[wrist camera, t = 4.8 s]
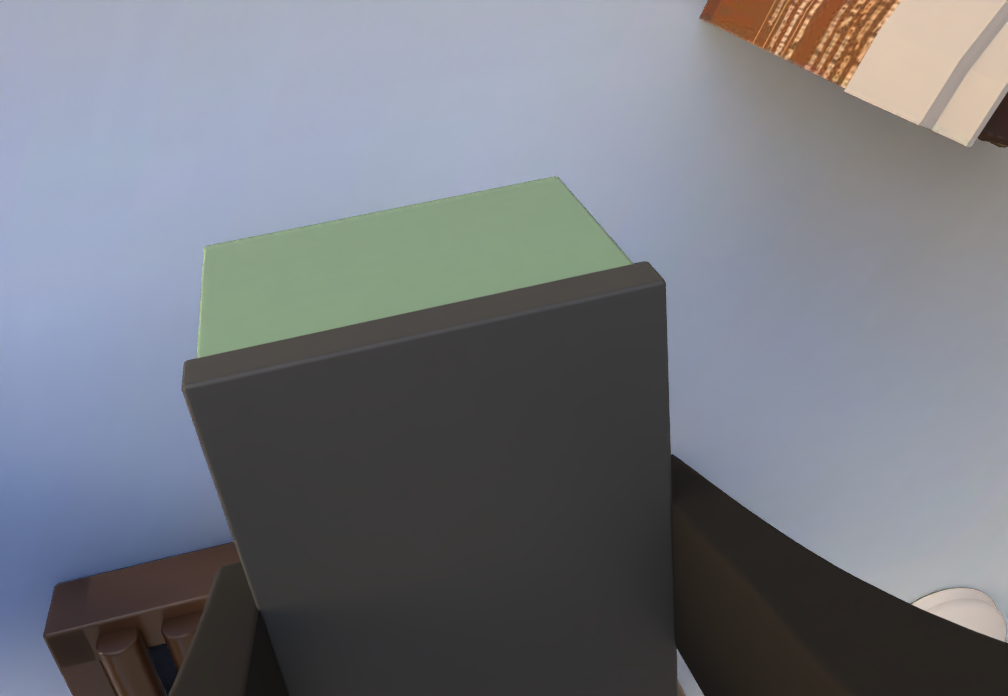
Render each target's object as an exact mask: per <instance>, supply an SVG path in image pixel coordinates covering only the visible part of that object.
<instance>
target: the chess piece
mask: <svg viewBox="0 0 1008 696" xmlns="http://www.w3.org/2000/svg"><path fill="white" fill-rule="evenodd" d="M911 605H914V606H916V607H918V608H920V609H922V610H925V611H927V612H929V613H932V614H934V615H937V616H939V617H942V618H944V619H946V620H949V621H951V622H954V623H956V624H958V625H961V626H963V627H966V628H968V629H971V630H973V631H976V632H979V633H981V634H984V635H987V636H989V637H992V638H995V639H998V640H1000V641H1003V642H1005V638H1006V623H1005V620H1004V618H1003V616H1002V614H1001V613H1000V611H999V610H998V609H997V608H996V607H995V604H994V603H993V601H992V600H991V599H990V597H988V596H987V595H986V594H984V593H983V592H981V591H978V590H975V589H970V588H953V589H947V590H942V591H939V592H936V593H933V594H930V595H928V596H925V597H923V598H921V599H919V600H917V601H916V602H914V603H912V604H911Z"/></svg>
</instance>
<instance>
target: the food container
mask: <svg viewBox="0 0 1008 696" xmlns="http://www.w3.org/2000/svg"><path fill="white" fill-rule="evenodd" d="M699 18H700V19H702V20H704V21H706V22H708V23H710V24H712V25H714V26H716V27H718V28H721V29H723V30H725V31H727V32H729V33H731V34H733V35H735V36H737V37H739V38H741V39H743V40H745V41H748V42H750V43H752V44H754V45H756V46H758V47H760V48H762V49H764V50H766V51H768V52H770V53H772V54H775V55H777V56H779V57H781V58H783V59H785V60H787V61H789V62H791V63H793V64H795V65H797V66H799V67H802V68H804V69H806V70H808V71H810V72H812V73H814V74H816V75H818V76H820V77H822V78H824V79H826V80H829V81H831V82H833V83H835V84H837V85H839V86H841V87H843V88H845V90H844V92H846V93H848V94H851V95H853V96H855V97H857V98H860V99H862V100H864V101H866V102H868V103H871V104H873V105H875V106H877V107H879V108H882V109H884V110H886V111H888V112H890V113H893V114H895V115H897V116H899V117H901V118H904V119H906V120H908V121H910V122H912V123H915V124H917V125H919V126H922V127H924V128H927V129H930V130H932V131H934V132H937V133H939V134H941V135H943V136H945V137H947V138H949V139H952V140H954V141H956V142H958V143H960V144H962V145H965V146H967V147H970V148H971V147H972V145H973V144H974V142H975V141H976V139H977V138H978V139H980V140H982V141H988V142H990V143H992V144H994V145H996V146H998V147H1004V148H1006V147H1008V0H708V1H707V3H706V5H705V7H704V9H703V11H702V13H701V15H700V17H699Z"/></svg>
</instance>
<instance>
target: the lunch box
mask: <svg viewBox="0 0 1008 696" xmlns="http://www.w3.org/2000/svg"><path fill="white" fill-rule="evenodd" d="M182 392H183V395H184V398H185V401H186V403H187V406H188V409H189V412H190V415H191V418H192V421H193V424H194V427H195V430H196V432H197V435H198V438H199V441H200V444H201V447H202V450H203V453H204V456H205V459H206V462H207V464H208V467H209V470H210V473H211V476H212V479H213V482H214V485H215V488H216V491H217V493H218V496H219V499H220V502H221V505H222V508H223V511H224V514H225V517H226V520H227V523H228V525H229V528H230V531H231V534H232V537H233V540H234V543H235V546H236V549H237V552H238V554H239V557H240V560H241V563H242V566H243V569H244V572H245V575H246V578H247V581H248V584H249V586H250V589H251V592H252V595H253V598H254V601H255V604H256V607H257V609H258V610H259V611H260V614H261V617H262V620H263V623H264V626H265V629H266V632H267V635H268V638H269V641H270V644H271V646H272V649H273V652H274V655H275V658H276V661H277V664H278V667H279V670H280V673H281V676H282V678H283V681H284V684H285V687H286V690H287V693H288V696H678V686H677V652H676V639H675V606H674V572H673V539H672V505H671V504H672V483H671V449H670V416H669V382H668V348H667V314H666V282H665V280H664V279H663V278H662V277H661V276H660V275H659V273H658V272H657V271H656V270H655V269H654V268H653V267H652V266H651V265H650V263H649V262H640V263H635V264H633V263H632V261H631V260H630V259H629V258H628V257H627V256H626V254H625V253H624V252H623V251H622V250H621V249H620V248H619V246H618V245H617V244H616V243H615V242H614V241H613V239H612V238H611V237H610V236H609V235H608V234H607V233H606V231H605V230H604V229H603V228H602V227H601V226H600V225H599V223H598V222H597V221H596V220H595V219H594V218H593V216H592V215H591V214H590V213H589V212H588V211H587V210H586V208H585V207H584V206H583V205H582V204H581V203H580V201H579V200H578V199H577V198H576V197H575V196H574V195H573V193H572V192H571V191H570V190H569V189H568V188H567V187H566V185H565V184H564V183H563V182H562V181H561V180H560V178H559V177H556V176H554V177H549V178H544V179H539V180H534V181H529V182H524V183H519V184H514V185H509V186H504V187H499V188H494V189H489V190H484V191H479V192H474V193H469V194H464V195H459V196H454V197H449V198H444V199H439V200H434V201H429V202H424V203H419V204H414V205H409V206H404V207H399V208H394V209H389V210H384V211H379V212H374V213H369V214H364V215H359V216H354V217H349V218H344V219H339V220H334V221H329V222H324V223H319V224H314V225H309V226H304V227H299V228H294V229H289V230H284V231H279V232H274V233H269V234H264V235H259V236H254V237H249V238H244V239H239V240H233V241H228V242H223V243H218V244H213V245H208V246H206V247H204V255H203V270H202V285H201V299H200V314H199V329H198V344H197V358H196V359H191V360H187V361H186V362H184V368H183V379H182Z"/></svg>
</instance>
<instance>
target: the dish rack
mask: <svg viewBox="0 0 1008 696" xmlns="http://www.w3.org/2000/svg"><path fill="white" fill-rule="evenodd" d="M238 562H241V560H240V557H239V554H238V552H237V549H236V546H235V543H234V542H231V543H227V544H223V545H219V546H215V547H210V548H206V549H202V550H198V551H194V552H190V553H185V554H181V555H177V556H173V557H169V558H165V559H160V560H156V561H152V562H148V563H144V564H139V565H135V566H131V567H127V568H123V569H119V570H114V571H110V572H106V573H102V574H98V575H94V576H89V577H85V578H81V579H77V580H73V581H68V582H64V583H60V584H57V585H55V587H54V591H53V595H52V599H51V604H50V608H49V612H48V617H47V621H46V625H45V630H44V634H43V638H44V640H45V642H46V644H47V646H48V648H49V650H50V652H51V654H52V656H53V658H54V660H55V662H56V664H57V666H58V668H59V670H60V671H61V673H62V675H63V677H64V679H65V681H66V683H67V685H68V687H69V689H70V691H71V693H72V695H73V696H167V694H166V691H165V689H164V687H163V684H162V682H161V680H160V677H159V675H158V673H157V670H156V668H155V666H154V663H153V661H152V659H151V657H150V654H149V652H148V650H147V648H150V647H154V646H158V645H162V644H166V645H167V647H168V649H169V652H170V654H171V657H172V659H173V661H174V664H175V666H176V669H177V671H178V672H179V670H180V667H181V665H182V663H183V660H184V658H185V656H186V653H187V651H188V649H189V646H190V644H191V641H192V639H193V636H194V634H195V631H196V629H197V626H198V624H199V621H200V618H201V615H202V613H203V610H204V607H205V604H206V601H207V599H208V596H209V593H210V590H211V587H212V583H213V580H214V577H215V574H216V573H217V572H218V570H219V569H220V568H221V567H222V566H226V565H230V564H234V563H238ZM676 648H677V647H676ZM677 686H678V696H686V695H685V693H684V691H683V689H682V687H681V685H680V683H679V681H678V679H677Z"/></svg>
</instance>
